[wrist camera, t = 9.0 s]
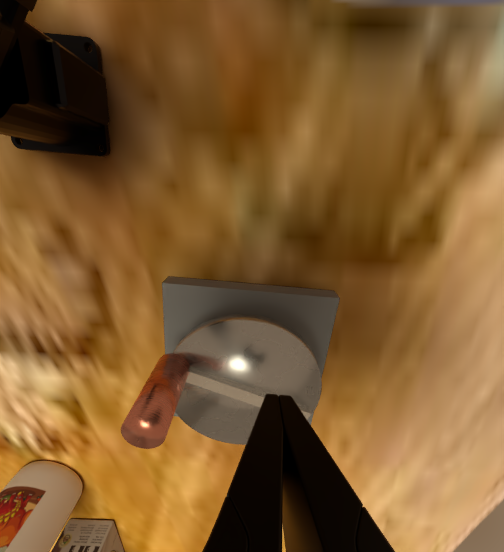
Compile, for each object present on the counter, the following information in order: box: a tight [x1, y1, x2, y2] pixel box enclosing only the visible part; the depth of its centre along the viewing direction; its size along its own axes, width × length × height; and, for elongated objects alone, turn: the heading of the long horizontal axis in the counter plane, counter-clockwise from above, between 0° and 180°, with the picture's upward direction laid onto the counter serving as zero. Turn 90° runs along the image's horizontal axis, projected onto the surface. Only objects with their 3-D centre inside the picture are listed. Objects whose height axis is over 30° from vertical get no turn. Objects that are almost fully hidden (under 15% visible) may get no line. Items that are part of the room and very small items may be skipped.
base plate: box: [162, 276, 340, 425], centre depth 22 cm, size 14×14×2 cm
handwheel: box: [121, 314, 322, 449], centre depth 18 cm, size 13×12×8 cm
